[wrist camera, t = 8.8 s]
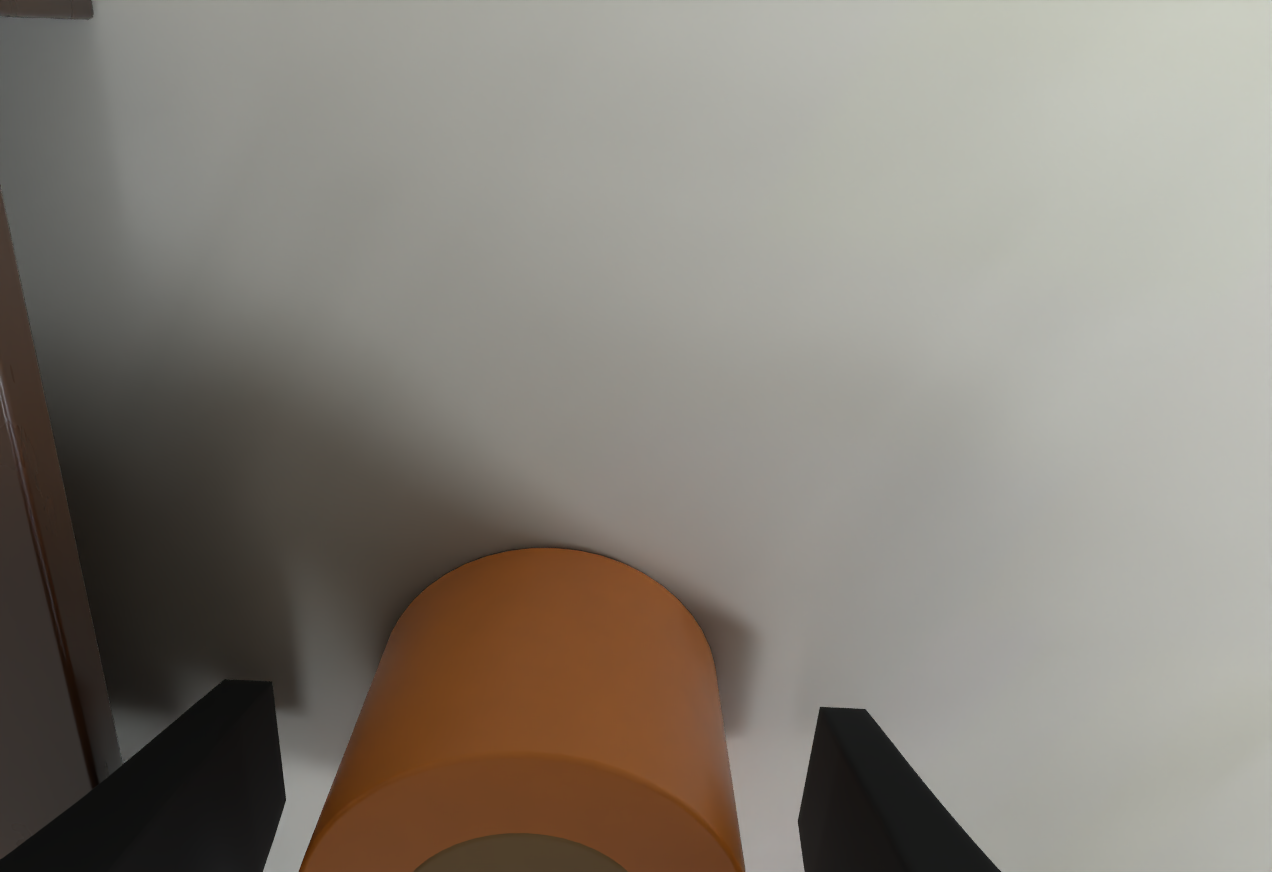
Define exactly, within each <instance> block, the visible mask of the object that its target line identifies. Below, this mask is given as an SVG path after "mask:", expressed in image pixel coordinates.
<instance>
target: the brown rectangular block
mask: <svg viewBox="0 0 1272 872" xmlns="http://www.w3.org/2000/svg"><path fill="white" fill-rule="evenodd" d="M0 16H3V17H30V18H58V19H86V20H88V19H90V18H92V17H93V7H92V1H91V0H0ZM122 765H123V762H122V758H121V753H120V748H119V744H118V739H117V734H116V729H115V725H114V720H113V715H112V710H111V706H110V701H109V696H108V692H107V687H106V682H105V677H104V673H103V668H102V663H101V658H100V654H99V649H98V644H97V640H96V635H95V630H94V625H93V621H92V616H91V611H90V606H89V602H88V597H87V592H86V588H85V583H84V578H83V573H82V569H81V564H80V559H79V554H78V550H77V545H76V540H75V536H74V531H73V526H72V521H71V517H70V512H69V507H68V503H67V498H66V493H65V488H64V484H63V479H62V474H61V469H60V465H59V460H58V455H57V451H56V446H55V441H54V436H53V432H52V427H51V422H50V417H49V413H48V408H47V403H46V399H45V394H44V389H43V384H42V380H41V375H40V370H39V365H38V361H37V356H36V351H35V347H34V342H33V337H32V332H31V328H30V323H29V318H28V313H27V309H26V304H25V299H24V295H23V290H22V285H21V280H20V276H19V271H18V266H17V261H16V257H15V252H14V247H13V243H12V238H11V233H10V228H9V224H8V219H7V214H6V209H5V205H4V200H3V195H2V191H1V186H0V859H2V858H3V857H5V856H6V855H7V854H9V853H10V852H11V851H13V850H14V849H15V848H17V847H18V846H19V845H21V844H22V843H23V842H25V841H26V840H27V839H29V838H30V837H31V836H33V835H34V834H35V833H37V832H38V831H39V830H40V829H42V828H43V827H44V826H46V825H47V824H48V823H50V822H51V821H52V820H54V819H55V818H56V817H58V816H59V815H60V814H62V813H63V812H64V811H66V810H67V809H68V808H70V807H71V806H72V805H73V804H75V803H76V802H77V801H79V800H80V799H81V798H82V797H84V796H85V795H86V794H87V793H89V792H90V791H91V790H92V789H94V788H95V787H96V786H97V785H98V784H100V783H101V782H102V781H103V780H105V779H106V778H107V777H108V776H109V775H111V774H112V773H113V772H114V771H116V770H117V769H118V768H119V767H121V766H122Z"/></svg>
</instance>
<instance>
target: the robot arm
mask: <svg viewBox="0 0 1272 872" xmlns="http://www.w3.org/2000/svg"><path fill="white" fill-rule="evenodd" d="M285 801H286V796H285V788H284V779H283V771H282V762H281V753H280V745H279V736H278V728H277V719H276V711H275V702H274V694H273V685H272V682H270V681H249V680H227V679H225V680H223V681H222V682H221V683H220V684H218V685H217V686H216V687H215V688H214V689H212V690H211V691H210V692H209V693H208V694H206V695H205V696H204V697H203V698H201V699H200V700H199V701H198V702H197V703H195V704H194V705H193V706H192V707H191V708H190V709H188V710H187V711H186V712H185V713H184V714H182V715H181V716H180V717H179V718H178V719H177V720H175V721H174V722H173V723H172V724H171V725H169V726H168V727H167V728H166V729H165V730H164V731H162V732H161V733H160V734H159V735H158V736H157V737H155V738H154V739H153V740H152V741H151V742H149V743H148V744H147V745H146V746H145V747H143V748H142V749H141V750H140V751H139V752H138V753H136V754H135V755H134V756H133V757H132V758H130V759H129V760H128V761H127V762H125V763H124V764H123V765H122V766H121V767H119V768H118V769H117V770H116V771H114V772H113V773H112V774H111V775H109V776H108V777H107V778H106V779H105V780H103V781H102V782H101V783H100V784H98V785H97V786H96V787H95V788H94V789H92V790H91V791H90V792H89V793H87V794H86V795H85V796H84V797H82V798H81V799H80V800H79V801H77V802H76V803H75V804H73V805H72V806H71V807H70V808H68V809H67V810H66V811H64V812H63V813H62V814H60V815H59V816H58V817H56V818H55V819H54V820H52V821H51V822H50V823H48V824H47V825H46V826H44V827H43V828H42V829H40V830H39V831H38V832H37V833H35V834H34V835H33V836H31V837H30V838H29V839H27V840H26V841H25V842H23V843H22V844H21V845H19V846H18V847H17V848H15V849H14V850H13V851H11V852H10V853H9V854H7V855H6V856H5V857H3V858H2V859H0V872H263V869H264V866H265V863H266V860H267V857H268V855H269V852H270V849H271V846H272V843H273V840H274V836H275V833H276V830H277V827H278V824H279V821H280V817H281V814H282V811H283V808H284V805H285ZM798 826H799V833H800V841H801V848H802V856H803V863H804V870H805V872H1001V871H1000V870H999V869H998V868H997V867H996V866H995V865H994V864H993V862H992V861H991V860H990V859H989V858H988V857H987V856H986V855H985V854H984V853H983V851H982V850H981V849H980V848H979V847H978V846H977V845H976V844H975V842H974V841H973V840H972V839H971V838H970V837H969V835H968V834H967V833H966V832H965V831H964V830H963V828H962V827H961V826H960V825H959V824H958V823H957V821H956V820H955V819H954V818H953V817H952V816H951V814H950V813H949V812H948V811H947V810H946V809H945V807H944V806H943V805H942V804H941V803H940V801H939V800H938V799H937V798H936V797H935V795H934V794H933V793H932V792H931V791H930V789H929V788H928V787H927V786H926V784H925V783H924V782H923V781H922V779H921V778H920V777H919V776H918V774H917V773H916V772H915V771H914V770H913V768H912V767H911V766H910V765H909V763H908V762H907V761H906V759H905V758H904V757H903V756H902V754H901V753H900V752H899V751H898V749H897V748H896V747H895V746H894V744H893V743H892V742H891V740H890V739H889V738H888V737H887V735H886V734H885V733H884V732H883V730H882V729H881V728H880V726H879V725H878V724H877V723H876V721H875V720H874V719H873V718H872V717H871V715H870V714H869V713H868V712H867V711H866V709H852V708H831V707H820V709H819V714H818V720H817V725H816V730H815V735H814V740H813V745H812V751H811V756H810V761H809V766H808V771H807V776H806V782H805V787H804V792H803V797H802V802H801V807H800V813H799V818H798Z"/></svg>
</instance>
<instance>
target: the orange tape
mask: <svg viewBox="0 0 1272 872" xmlns="http://www.w3.org/2000/svg"><path fill="white" fill-rule="evenodd" d="M299 872H745V865H744V858H743V852H742V845H741V838H740V832H739V825H738V818H737V811H736V805H735V798H734V791H733V784H732V778H731V771H730V764H729V757H728V751H727V744H726V737H725V730H724V724H723V717H722V710H721V704H720V697H719V690H718V683H717V677H716V670H715V664H714V660H713V657H712V653H711V650H710V647H709V645H708V642H707V640H706V638H705V636H704V634H703V632H702V630H701V628H700V627H699V625H698V624H697V622H696V621H695V619H694V618H693V616H692V615H691V613H690V612H689V611H688V610H687V609H686V608H685V607H684V606H683V604H682V603H681V602H680V601H679V600H678V599H677V598H676V597H675V596H674V595H672V594H671V593H670V592H669V591H668V590H667V589H665V588H664V587H663V586H662V585H661V584H659V583H658V582H656V581H655V580H653V579H651V578H650V577H648V576H647V575H645V574H644V573H642V572H640V571H638V570H636V569H634V568H632V567H630V566H628V565H626V564H624V563H621V562H618V561H615V560H613V559H610V558H607V557H604V556H601V555H597V554H592V553H588V552H583V551H579V550H570V549H561V548H528V549H519V550H511V551H506V552H502V553H497V554H493V555H489V556H485V557H483V558H480V559H477V560H475V561H472V562H469V563H466V564H464V565H462V566H461V567H459V568H457V569H455V570H453V571H451V572H449V573H447V574H445V575H444V576H442V577H441V578H440V579H438V580H437V581H435V582H434V583H432V584H431V585H430V586H428V587H427V588H426V589H425V590H424V591H423V592H422V593H421V594H419V595H418V596H417V597H416V598H415V599H414V600H413V601H412V602H411V604H410V605H409V606H408V607H407V609H406V610H405V611H404V612H403V614H402V615H401V616H400V618H399V620H398V622H397V623H396V625H395V627H394V629H393V630H392V632H391V635H390V637H389V640H388V642H387V645H386V647H385V650H384V653H383V655H382V658H381V660H380V663H379V665H378V668H377V671H376V673H375V676H374V678H373V681H372V683H371V686H370V689H369V691H368V694H367V696H366V699H365V701H364V704H363V707H362V709H361V712H360V714H359V717H358V719H357V722H356V725H355V727H354V730H353V732H352V735H351V737H350V740H349V743H348V745H347V748H346V750H345V753H344V756H343V758H342V761H341V763H340V766H339V768H338V771H337V774H336V776H335V779H334V781H333V784H332V786H331V789H330V792H329V794H328V797H327V799H326V802H325V804H324V807H323V810H322V812H321V815H320V817H319V820H318V822H317V825H316V828H315V830H314V833H313V835H312V838H311V840H310V843H309V846H308V848H307V851H306V853H305V856H304V859H303V861H302V864H301V867H300V869H299Z"/></svg>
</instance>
